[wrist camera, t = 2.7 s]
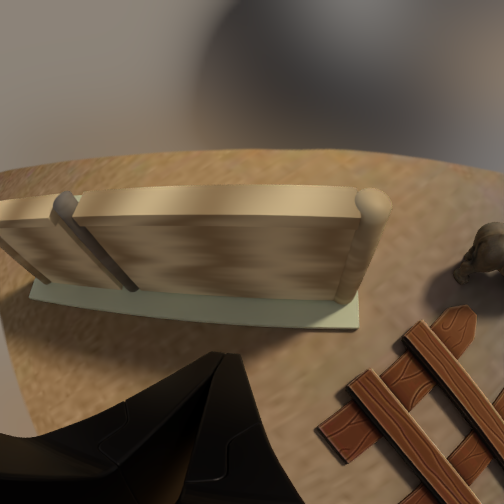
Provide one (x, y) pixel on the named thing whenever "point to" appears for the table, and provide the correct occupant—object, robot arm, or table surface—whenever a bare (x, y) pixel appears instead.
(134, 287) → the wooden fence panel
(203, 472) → the robot arm
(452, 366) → the decorative fence
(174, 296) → the card
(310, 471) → the table surface
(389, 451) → the table surface
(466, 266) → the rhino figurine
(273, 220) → the hinged fence panel
